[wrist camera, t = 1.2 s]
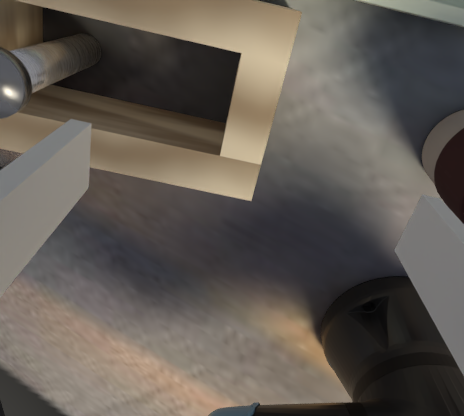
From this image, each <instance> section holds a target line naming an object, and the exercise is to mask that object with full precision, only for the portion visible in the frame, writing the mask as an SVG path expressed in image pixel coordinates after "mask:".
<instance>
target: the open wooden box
mask: <svg viewBox="0 0 464 416" xmlns="http://www.w3.org/2000/svg"><path fill="white" fill-rule="evenodd" d="M43 7H45V8H50V9H54V10H58V11H63V12H67V13H71V14H75V15H80V16H84V17H88V18H93V19H97V20H101V21H105V22H110V23H114V24H118V25H123V26H127V27H131V28H135V29H140V30H144V31H148V32H152V33H157V34H161V35H165V36H170V37H174V38H178V39H182V40H187V41H191V42H195V43H200V44H204V45H208V46H212V47H217V48H221V49H225V50H230V51H234V52H238V53H241V54H240V59H239V63H238V68H237V73H236V78H235V82H234V87H233V92H232V97H231V101H230V106H229V111H228V115H227V120H226V123H222V122H218V121H213V120H208V119H204V118H199V117H195V116H190V115H186V114H181V113H177V112H172V111H168V110H163V109H159V108H154V107H150V106H145V105H141V104H136V103H132V102H127V101H123V100H118V99H113V98H109V97H104V96H100V95H95V94H91V93H86V92H82V91H77V90H73V89H68V88H64V87H59V86H55V85H49V86H47V87H45V88H42V89H40V90H38V91H36V92H34V93H32V95H31V99H30V101H29V103H28V104H27V106H26V107H25V108H24V109H22V110H21V111H19V112H17V113H15V114H13V115H11V116H9V117H7V118H2V119H0V149H4V150H9V151H14V152H19V153H23V154H24V153H25V152H26V151H28V150H29V149H30V148H32V147H33V146H34V145H36V144H37V143H39V142H40V141H41V140H43V139H44V138H45V137H47V136H48V135H50V134H51V133H52V132H54V131H55V130H56V129H58V128H59V127H61V126H62V125H63V124H65V123H66V122H67V121H69V120H70V119H74V120H78V121H83V122H88V123H91V146H90V168H95V169H100V170H105V171H110V172H114V173H119V174H124V175H129V176H134V177H138V178H143V179H148V180H153V181H157V182H162V183H167V184H172V185H177V186H181V187H186V188H191V189H196V190H201V191H205V192H210V193H215V194H220V195H225V196H229V197H234V198H239V199H244V200H248V201H251V200H252V197H253V193H254V189H255V185H256V182H257V178H258V174H259V170H260V167H261V163H262V159H263V156H264V152H265V148H266V144H267V141H268V137H269V133H270V129H271V126H272V122H273V118H274V115H275V111H276V107H277V103H278V100H279V96H280V92H281V88H282V85H283V81H284V77H285V73H286V70H287V66H288V62H289V59H290V55H291V51H292V47H293V44H294V40H295V36H296V32H297V29H298V25H299V21H300V18H301V14H302V12H300V11H297V10H294V9H292V8H289V7H285V6H280V5H276V4H272V3H268V2H264V1H260V0H0V47H2V48H5V49H7V50H8V51H11V50H15V49H19V48H24V47H28V46H32V45H36V44H40V43H43Z"/></svg>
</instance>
